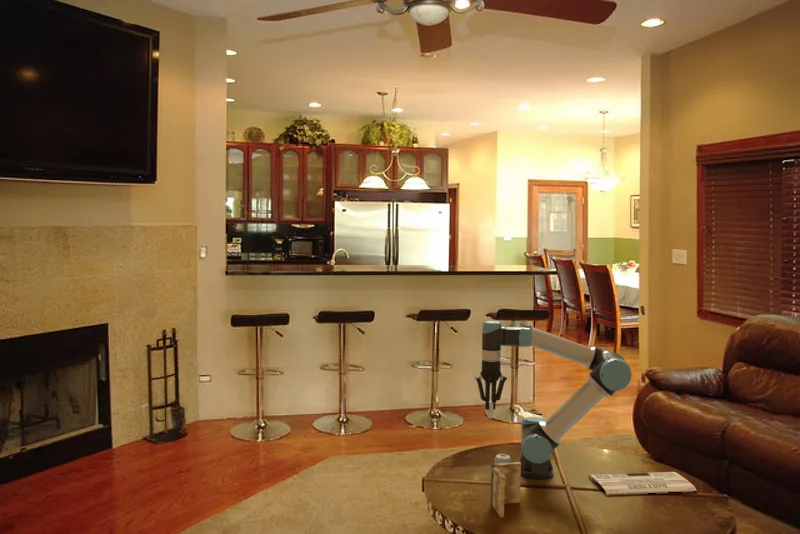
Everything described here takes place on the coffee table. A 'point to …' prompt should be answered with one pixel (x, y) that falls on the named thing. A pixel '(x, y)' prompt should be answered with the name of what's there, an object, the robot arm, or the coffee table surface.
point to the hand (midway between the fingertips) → (490, 417)
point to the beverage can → (502, 459)
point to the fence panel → (509, 481)
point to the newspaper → (642, 483)
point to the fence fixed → (498, 491)
